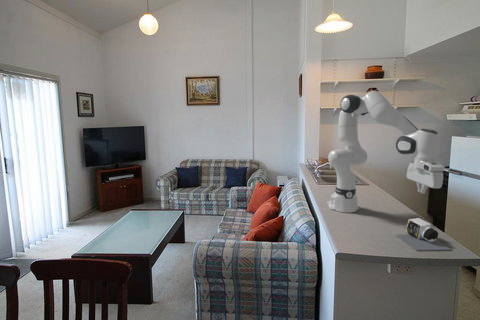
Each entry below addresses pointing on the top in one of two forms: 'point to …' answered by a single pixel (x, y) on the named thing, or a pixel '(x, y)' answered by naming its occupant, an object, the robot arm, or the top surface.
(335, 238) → the top surface
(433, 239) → the medicine bottle
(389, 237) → the top surface
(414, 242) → the dark rubber mat
